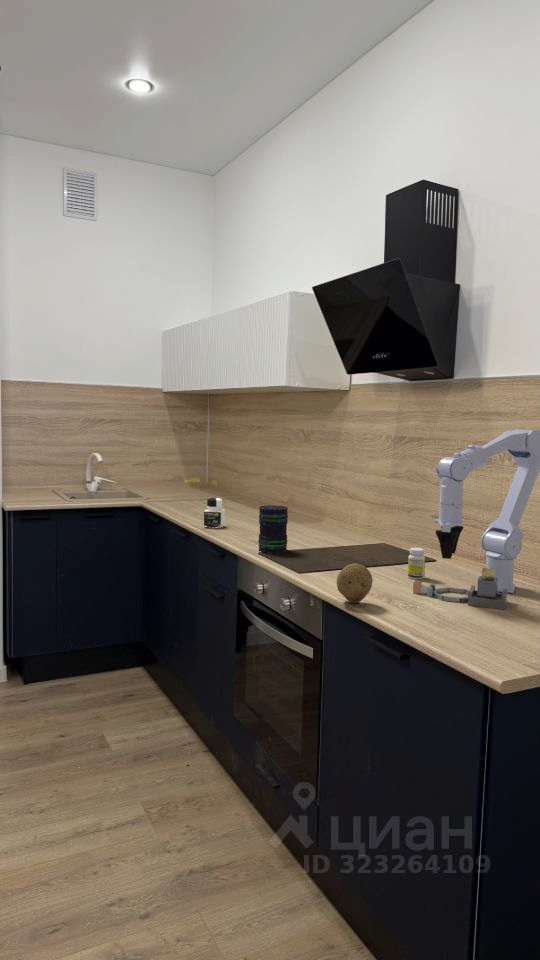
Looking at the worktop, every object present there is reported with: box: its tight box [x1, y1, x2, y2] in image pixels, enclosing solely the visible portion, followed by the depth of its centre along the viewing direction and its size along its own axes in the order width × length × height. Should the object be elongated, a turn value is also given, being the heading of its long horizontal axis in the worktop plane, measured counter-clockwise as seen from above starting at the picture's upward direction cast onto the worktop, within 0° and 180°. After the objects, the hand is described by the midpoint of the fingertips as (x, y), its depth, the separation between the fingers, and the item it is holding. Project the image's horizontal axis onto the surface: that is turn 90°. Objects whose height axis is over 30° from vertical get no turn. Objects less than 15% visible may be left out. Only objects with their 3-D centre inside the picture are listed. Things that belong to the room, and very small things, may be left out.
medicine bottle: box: [203, 497, 226, 529], centre depth 282 cm, size 7×7×12 cm
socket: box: [426, 583, 470, 603], centre depth 179 cm, size 11×12×2 cm
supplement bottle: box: [407, 547, 426, 580], centre depth 199 cm, size 5×5×8 cm
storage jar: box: [258, 505, 289, 554], centre depth 235 cm, size 10×10×15 cm
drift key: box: [412, 580, 432, 595], centre depth 182 cm, size 3×4×3 cm, turn 68°
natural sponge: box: [336, 563, 374, 604], centre depth 170 cm, size 9×9×10 cm
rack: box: [467, 585, 508, 610], centre depth 173 cm, size 8×9×3 cm
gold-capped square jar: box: [477, 567, 498, 599], centre depth 173 cm, size 4×4×8 cm
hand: (448, 555), depth 180 cm, fingers open, 7 cm apart
